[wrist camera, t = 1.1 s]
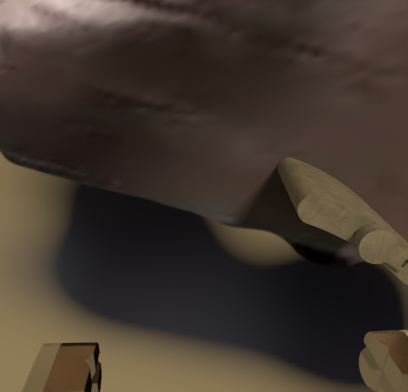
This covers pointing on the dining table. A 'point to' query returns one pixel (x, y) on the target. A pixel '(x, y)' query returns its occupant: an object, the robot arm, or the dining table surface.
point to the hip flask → (343, 215)
